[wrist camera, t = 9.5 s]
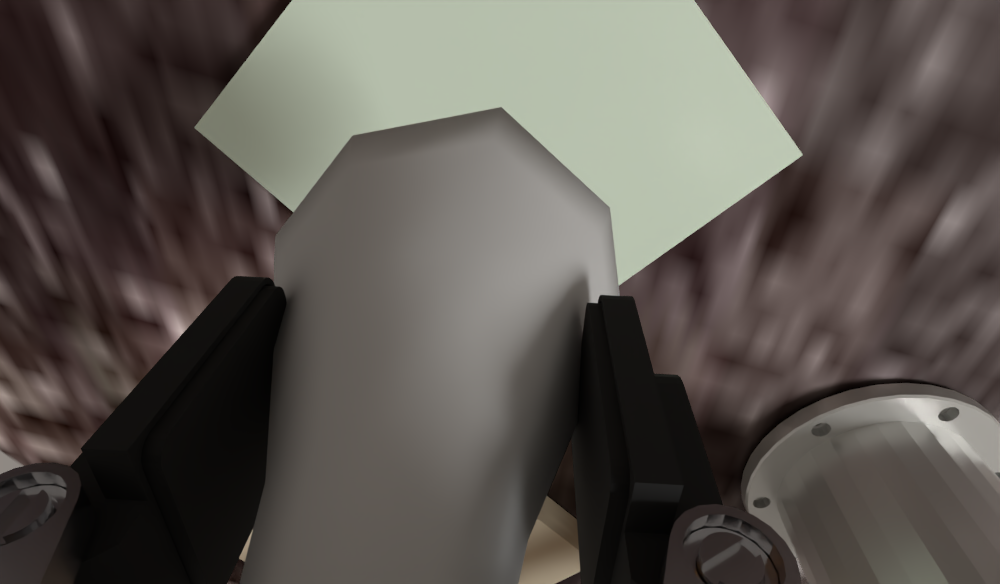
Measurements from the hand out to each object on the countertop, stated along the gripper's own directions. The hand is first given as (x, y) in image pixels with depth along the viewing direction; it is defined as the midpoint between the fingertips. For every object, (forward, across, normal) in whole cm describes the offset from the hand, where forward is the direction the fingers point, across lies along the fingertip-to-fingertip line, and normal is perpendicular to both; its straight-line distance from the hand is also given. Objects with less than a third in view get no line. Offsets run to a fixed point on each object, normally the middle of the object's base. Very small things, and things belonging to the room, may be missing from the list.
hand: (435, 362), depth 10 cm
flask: (+3, 0, 0) cm, 3 cm away
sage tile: (+14, 0, 0) cm, 14 cm away
